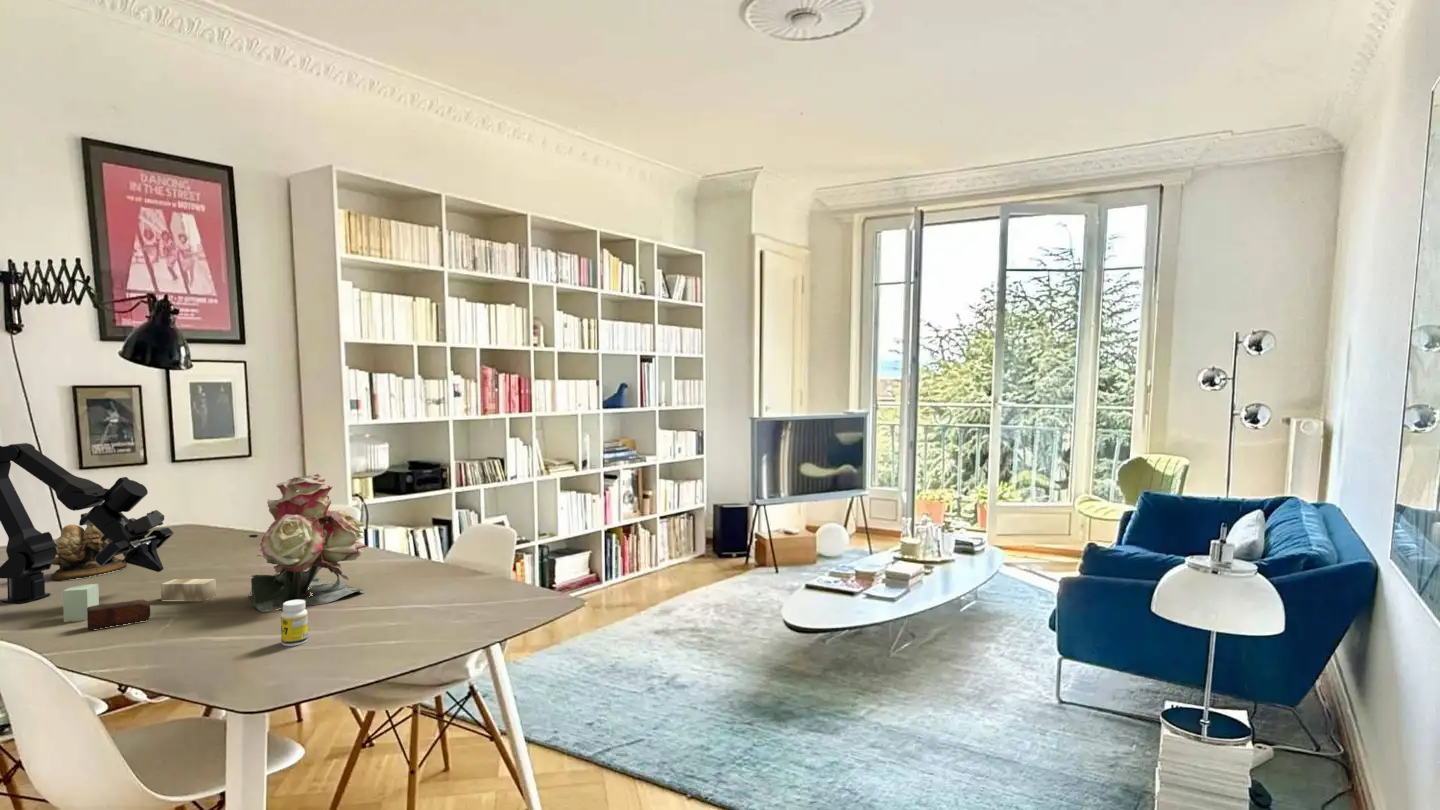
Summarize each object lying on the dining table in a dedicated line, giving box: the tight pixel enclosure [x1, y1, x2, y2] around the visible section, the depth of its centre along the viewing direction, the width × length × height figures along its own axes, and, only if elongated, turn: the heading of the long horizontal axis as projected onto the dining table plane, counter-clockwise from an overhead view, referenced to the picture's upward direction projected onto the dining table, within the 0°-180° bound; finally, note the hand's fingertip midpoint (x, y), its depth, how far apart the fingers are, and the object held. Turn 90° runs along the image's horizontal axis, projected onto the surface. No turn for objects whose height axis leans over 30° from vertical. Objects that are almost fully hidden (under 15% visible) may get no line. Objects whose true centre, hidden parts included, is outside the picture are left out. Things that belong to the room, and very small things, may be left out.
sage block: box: [62, 583, 100, 623], centre depth 166 cm, size 4×4×7 cm
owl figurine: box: [50, 523, 128, 581], centre depth 204 cm, size 18×12×17 cm, turn 162°
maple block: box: [160, 578, 217, 602], centre depth 181 cm, size 4×4×10 cm
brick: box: [86, 598, 151, 631], centre depth 162 cm, size 11×4×5 cm, turn 132°
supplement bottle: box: [280, 599, 309, 647], centre depth 152 cm, size 5×5×8 cm
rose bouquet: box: [241, 473, 368, 613], centre depth 185 cm, size 26×29×30 cm
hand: (161, 570), depth 180 cm, fingers closed
